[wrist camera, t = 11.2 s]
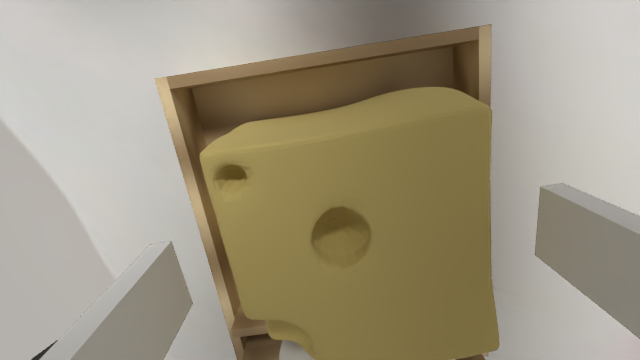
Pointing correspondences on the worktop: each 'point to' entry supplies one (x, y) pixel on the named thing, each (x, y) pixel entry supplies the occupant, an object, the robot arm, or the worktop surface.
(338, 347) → the cheese
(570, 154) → the worktop surface
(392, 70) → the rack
